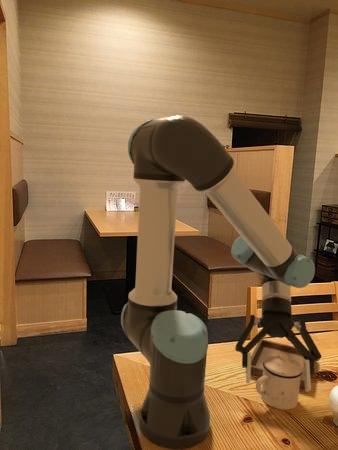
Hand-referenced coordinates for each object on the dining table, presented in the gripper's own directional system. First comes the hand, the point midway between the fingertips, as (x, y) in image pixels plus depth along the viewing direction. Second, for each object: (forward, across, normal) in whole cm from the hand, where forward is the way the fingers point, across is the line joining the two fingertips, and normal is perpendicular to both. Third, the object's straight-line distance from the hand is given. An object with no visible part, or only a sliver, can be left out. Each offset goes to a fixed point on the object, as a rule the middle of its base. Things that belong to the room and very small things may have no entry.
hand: (277, 386), depth 88 cm
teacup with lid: (+2, 0, -5) cm, 6 cm away
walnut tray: (-10, -4, -17) cm, 20 cm away
